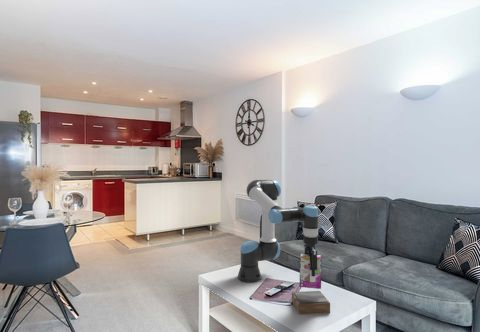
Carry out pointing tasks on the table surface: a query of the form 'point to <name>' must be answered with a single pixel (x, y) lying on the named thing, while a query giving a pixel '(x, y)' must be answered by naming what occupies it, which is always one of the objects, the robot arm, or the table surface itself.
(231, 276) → the table surface
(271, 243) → the robot arm
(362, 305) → the table surface
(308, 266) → the candy bar box
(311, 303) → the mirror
